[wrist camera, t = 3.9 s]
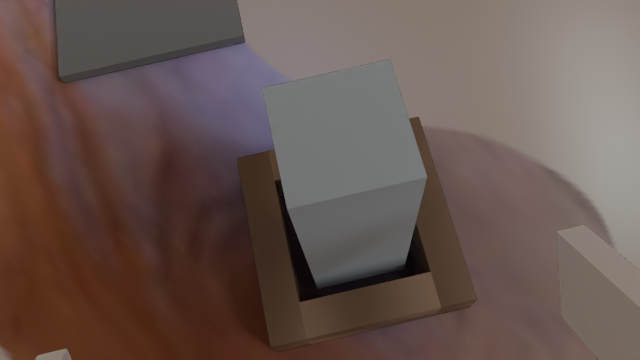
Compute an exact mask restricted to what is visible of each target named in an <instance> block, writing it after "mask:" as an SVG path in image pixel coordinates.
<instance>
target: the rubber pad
mask: <svg viewBox="0 0 640 360" xmlns="http://www.w3.org/2000/svg"><path fill="white" fill-rule="evenodd" d="M55 11H56V31H57V51H58V71H59V78H60V79H61V80H62V81H63V82H64V83H66V82H70V81H75V80H79V79H84V78H88V77H93V76H97V75H101V74H106V73H110V72H115V71H119V70H123V69H128V68H132V67H137V66H141V65H146V64H150V63H154V62H159V61H163V60H168V59H172V58H177V57H181V56H185V55H190V54H194V53H199V52H203V51H208V50H212V49H216V48H221V47H225V46H230V45H234V44H239V43H243V42H245V38H244V33H243V28H242V23H241V18H240V14H239V8H238V3H237V0H55Z"/></svg>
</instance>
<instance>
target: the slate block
mask: <svg viewBox="0 0 640 360" xmlns="http://www.w3.org/2000/svg"><path fill="white" fill-rule="evenodd" d="M262 90H263V95H264V100H265V105H266V110H267V115H268V119H269V124H270V129H271V134H272V139H273V143H274V148H275V153H276V158H277V163H278V168H279V172H280V177H281V182H282V187H283V192H284V197H285V201H286V206H287V210H288V213H289V215H290V218H291V221H292V223H293V226H294V228H295V231H296V234H297V236H298V239H299V242H300V244H301V247H302V249H303V252H304V255H305V257H306V260H307V262H308V265H309V268H310V270H311V273H312V275H313V278H314V281H315V283H316V286H317V289H320V288H324V287H329V286H333V285H337V284H341V283H346V282H350V281H354V280H359V279H363V278H367V277H372V276H376V275H380V274H385V273H389V272H393V271H397V270H402V269H404V267H405V263H406V259H407V255H408V251H409V247H410V243H411V239H412V235H413V231H414V227H415V223H416V219H417V216H418V212H419V208H420V204H421V200H422V196H423V192H424V188H425V184H426V180H427V174H426V171H425V168H424V165H423V162H422V159H421V155H420V152H419V149H418V146H417V143H416V139H415V136H414V133H413V130H412V127H411V123H410V120H409V117H408V114H407V111H406V107H405V104H404V101H403V98H402V95H401V92H400V88H399V85H398V82H397V79H396V76H395V72H394V69H393V66H392V63H391V60H390V59H388V60H383V61H379V62H375V63H370V64H366V65H362V66H357V67H352V68H348V69H344V70H339V71H335V72H330V73H326V74H322V75H317V76H313V77H309V78H304V79H300V80H295V81H291V82H286V83H282V84H278V85H273V86H269V87H264V88H262Z"/></svg>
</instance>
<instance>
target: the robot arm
mask: <svg viewBox="0 0 640 360" xmlns="http://www.w3.org/2000/svg"><path fill="white" fill-rule="evenodd" d="M556 235H557V252H558V268H559V285H560V302H561V317H562V318H563V319H564V321H565V322H566V323H567V324H568V325H569V326H570V328H571V329H572V330H573V331H574V332H575V333H576V335H577V336H578V337H579V338H580V339H581V340H582V342H583V343H584V344H585V345H586V346H587V347H588V349H589V350H590V351H591V352H592V353H593V355H594V356H595V357H596V358H597V359H598V360H640V270H639V269H638V268H637V267H636V266H634V265H633V264H632V263H631V262H629V261H628V260H627V259H626V258H625V257H623V256H622V255H621V254H620V253H618V252H617V251H616V250H615V249H613V248H612V247H611V246H610V245H609V244H607V243H606V242H605V241H604V240H602V239H601V238H600V237H599V236H598V235H596V234H595V233H594V232H593V231H591V230H590V229H589V228H588V227H586V226H585V225H581V226H577V227H572V228H568V229H564V230H560V231H556ZM35 360H72V359H71V357H70V354H69V352H68V350H67V348H66V349H62V350H58V351H53V352H49V353H45V354H41V355H37V357H36V359H35Z"/></svg>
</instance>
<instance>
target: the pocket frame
mask: <svg viewBox="0 0 640 360" xmlns="http://www.w3.org/2000/svg"><path fill="white" fill-rule="evenodd" d="M409 120H410V123H411V127H412V130H413V133H414V136H415V139H416V143H417V146H418V149H419V152H420V155H421V159H422V162H423V165H424V168H425V171H426V174H427V180H426V184H425V188H424V192H423V196H422V200H421V204H420V208H419V212H418V216H417V219H416V223H415V227H414V231H413V238H414V242H415V245H416V249H417V252H418V256H419V259H420V263H421V266H422V269H423V274H419V275H415V276H410V277H406V278H402V279H397V280H393V281H389V282H384V283H380V284H376V285H371V286H367V287H363V288H359V289H354V290H350V291H346V292H341V293H337V294H333V295H328V296H324V297H320V298H315V299H311V300H307V301H303V302H302V299H301V294H300V289H299V284H298V279H297V274H296V269H295V264H294V259H293V255H292V250H291V245H290V240H289V235H288V230H287V225H286V220H285V215H284V211H283V206H282V201H281V196H282V195H284V192H283V187H282V182H281V177H280V172H279V168H278V163H277V158H276V153H275V150H271V151H266V152H262V153H258V154H253V155H249V156H245V157H240V158H237V163H238V169H239V174H240V180H241V185H242V191H243V197H244V202H245V208H246V213H247V219H248V225H249V230H250V236H251V242H252V247H253V253H254V258H255V264H256V270H257V275H258V281H259V287H260V292H261V298H262V303H263V309H264V315H265V320H266V326H267V332H268V337H269V343H270V347H271V348H272V349H274V350H275V351H276V352H280V351H284V350H289V349H293V348H297V347H301V346H306V345H310V344H314V343H319V342H323V341H327V340H331V339H336V338H340V337H344V336H349V335H353V334H357V333H361V332H366V331H370V330H374V329H379V328H383V327H387V326H391V325H396V324H400V323H404V322H409V321H413V320H417V319H421V318H426V317H430V316H434V315H439V314H443V313H447V312H452V311H456V310H460V309H464V308H469V307H470V306H471V305H472V304H473V303H474V302H475V301H476V300H477V297H476V294H475V291H474V288H473V284H472V281H471V278H470V275H469V272H468V269H467V266H466V263H465V259H464V256H463V253H462V250H461V247H460V244H459V241H458V238H457V235H456V231H455V228H454V225H453V222H452V219H451V216H450V213H449V210H448V207H447V203H446V200H445V197H444V194H443V191H442V188H441V185H440V182H439V179H438V175H437V172H436V169H435V166H434V163H433V160H432V157H431V154H430V150H429V147H428V144H427V141H426V138H425V135H424V132H423V129H422V126H421V122H420V120H419V117H415V118H411V119H409Z"/></svg>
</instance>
